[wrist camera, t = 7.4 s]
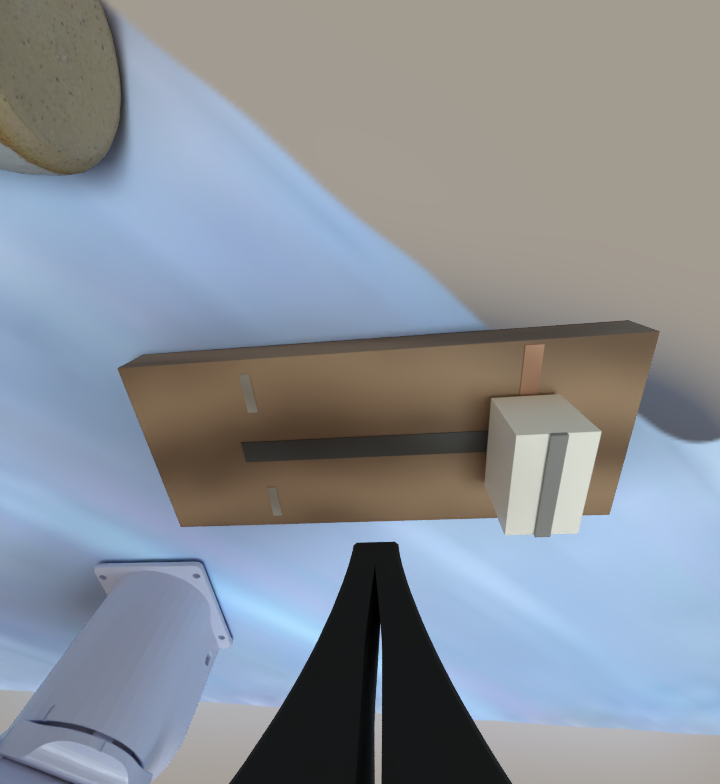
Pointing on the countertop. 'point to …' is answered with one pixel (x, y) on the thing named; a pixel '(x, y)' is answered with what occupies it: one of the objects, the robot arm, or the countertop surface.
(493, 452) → the fader knob
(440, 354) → the fader console
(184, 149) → the countertop surface
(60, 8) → the ceramic mug
